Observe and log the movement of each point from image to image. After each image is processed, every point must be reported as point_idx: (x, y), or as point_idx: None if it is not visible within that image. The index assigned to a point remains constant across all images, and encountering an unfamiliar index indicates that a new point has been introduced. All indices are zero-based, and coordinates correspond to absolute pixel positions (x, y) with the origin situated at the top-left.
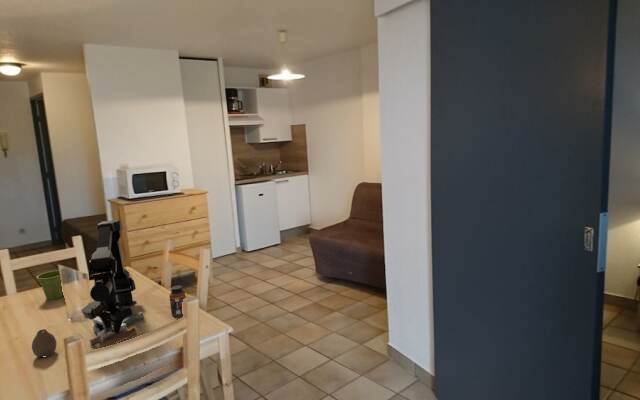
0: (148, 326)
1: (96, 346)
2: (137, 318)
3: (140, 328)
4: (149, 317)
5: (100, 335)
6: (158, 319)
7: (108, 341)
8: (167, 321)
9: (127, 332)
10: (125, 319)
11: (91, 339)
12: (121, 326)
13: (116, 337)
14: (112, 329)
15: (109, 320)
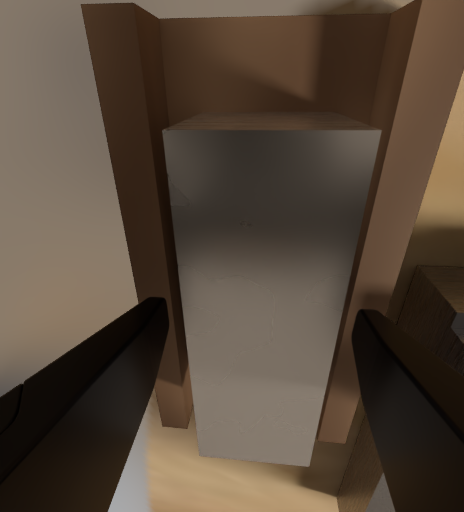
0: None
1: (259, 18)
2: (350, 496)
3: None
4: (307, 505)
5: (247, 127)
6: (226, 499)
7: (112, 148)
8: (153, 493)
9: None
10: None
11: (447, 21)
12: (196, 412)
13: (133, 259)
14: (211, 334)
15: (406, 494)
